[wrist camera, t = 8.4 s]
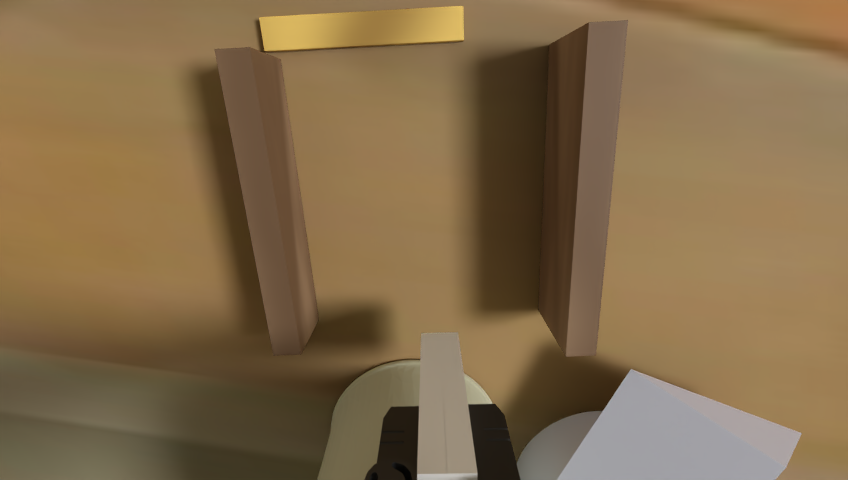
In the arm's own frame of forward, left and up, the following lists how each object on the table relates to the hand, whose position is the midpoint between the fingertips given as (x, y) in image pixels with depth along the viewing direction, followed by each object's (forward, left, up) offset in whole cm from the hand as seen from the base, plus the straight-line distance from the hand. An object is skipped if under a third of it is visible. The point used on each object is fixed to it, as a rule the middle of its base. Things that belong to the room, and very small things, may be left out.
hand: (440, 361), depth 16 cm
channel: (0, +6, -4) cm, 7 cm away
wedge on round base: (+9, -9, -4) cm, 14 cm away
